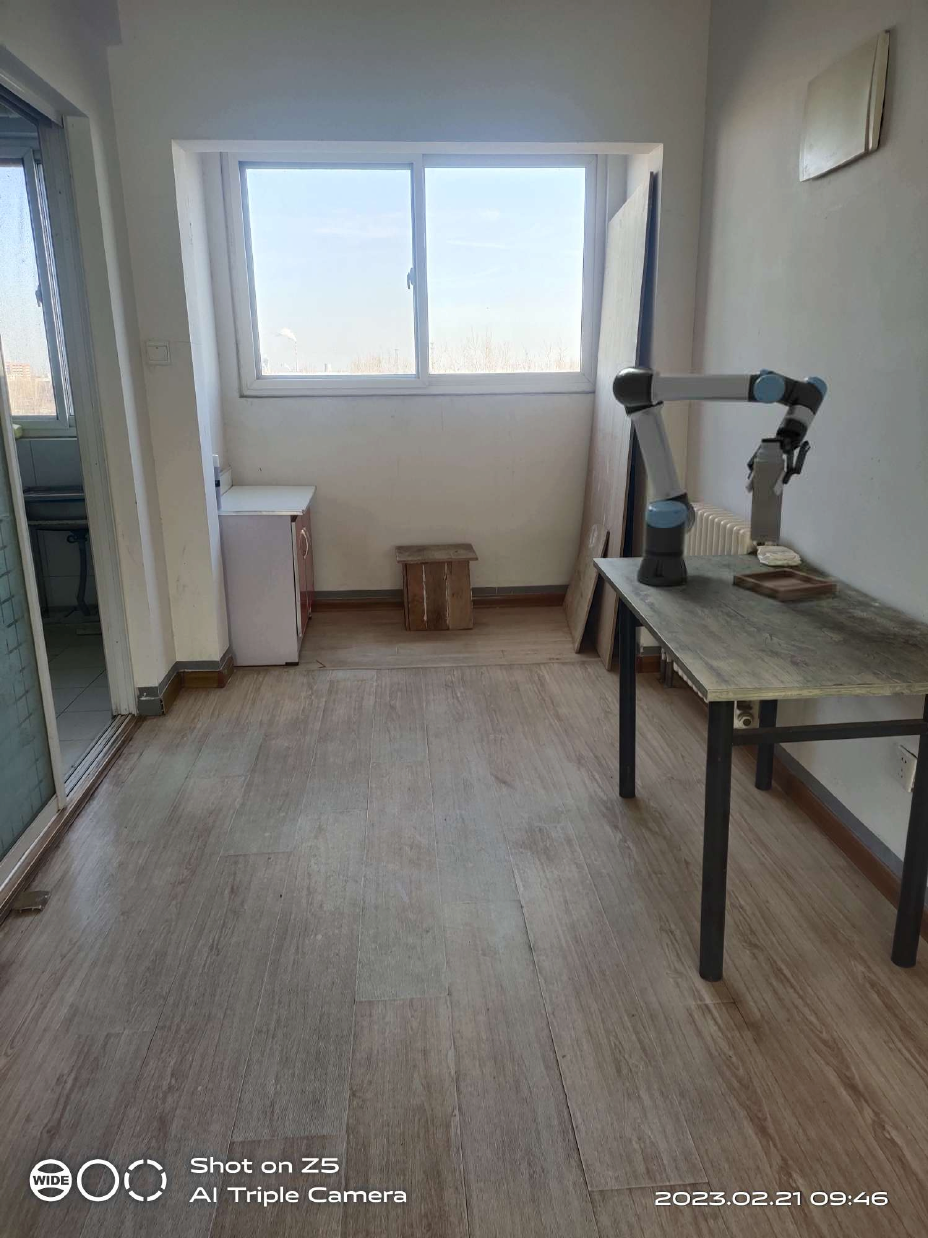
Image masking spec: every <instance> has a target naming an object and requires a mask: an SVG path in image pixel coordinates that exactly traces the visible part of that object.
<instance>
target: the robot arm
mask: <svg viewBox="0 0 928 1238" xmlns="http://www.w3.org/2000/svg"><path fill="white" fill-rule="evenodd" d="M611 389H612V393H613V396H614V398H615V400H616V401H617V402H618V403H619V404H621V405H622V406H624V410H625V414H626V417H628V418H629V419H630V420H632V421H633V426H634V429H635V432H636V437H637V440H638V443H639V447H640V452H641V456H642V458H643V462H644V465H645V470H646V473H647V477H648V481H649V485H650V488H651V492H652V496H651V497H650V500H649V503H650V504H649V505H648V506H647V508H646V512H645V527H644V528H645V530H644V531H645V532H644V549H643V556H642V559H641V562H640V565H639V567H638V569H637V572H636V580H637V581H638V582H639V581H640V583H642V584H645V585H649V586H650V585H651V586H656V585H657V586H658V587H674V585H677V586H682V585H685V584H687V583H688V579H689V573H688V569H687V566H686V561H685V558H684V551H685V538H686V537H685V536H686V535H688V533H689V532H690V531H691V530H692V529H693V527H694V526H695V522H696V511H695V507H694V506H693V504H692V503H691V502H690V499H689V495H688V491H687V489H684V488H682V487H681V484H680V481H679V477H678V474H677V470H676V465H675V460H674V457H673V454H672V451H671V446H670V441H669V439H668V435H667V432H666V427H665V423H664V419H663V416H662V409H663V408H664V406H665V403H664V402H691V403H692V402H705V403H757V404H758V403H759V404H760V403H761V404H765V405H768V404H769V405H770V404H774V403H776V404H779V405H782V406H784V407H788V409H787V410H786V412H785V414H784V415H783V418H782V421H781V423H780V424H779V426H778V428H777V430H776V433H775V435H774V437H773V438H779V439H781V441H780V442H779V443H780V449H781V450H782V451H783V455H786V457H785V458H786V459H785V464H786V467H785V469H784V470H783V472H782V473H781V475H780V477H779V479H778V481H777V483H776V485H775V487H774V491H775V494H776V495H778V496H779V495H780V493H781V491H782V489H783V490H784V487H785V485H788V484H789V482H790V480H791V478H792V477H793V476H794V475H797V476H798V475H800V474H801V473H802V470H803V466H804V463H805V460H806V456H807V453H808V452H809V451H810V449H811V445H810V443H809V440H807V439H806V440H805V437H806V435H807V433H808V431H809V429H810V427H811V425H812V423H813V421H814V419H815V416H816V415H817V413H818V411H819V409H820V407H821V406H822V403H823V401H824V399H825V396H826V395H827V391H828V385H827V383H826V382H825V380H823V379H822V378H820V377H818V376H806V377H804V378H803V379H802V381H800V380H797V379H794V378H791V377H788V376H786V375H783V374H781V373H778V372H776V371H774V370H768V369H765V368H761V369H760V370H759V371H758V373H756V374H751V373H750V374H748V373H747V374H746V373H745V374H743V373H742V374H741V373H740V374H739V373H733V374H731V373H726V374H725V373H723V374H722V373H720V374H719V373H661V372H660V371H659V370H657V369H653V368H652V367H650V366H647V365H636V366H627V367H625V368H623V369H621V370H620V371H619V372H617V374H616V376H615V377H614V379H613V381H612V388H611ZM761 444H762V442H761V441H760V444H759V446H758V448H757V449H756V450H755V452H754V453H753V455H752V457H750V459H749V461H748V462H747V463H746V465H747V468H748V470H749V471H750V472H749V473H748V476H747V482H746V484H745V489H746V492H747V493H749V494H751V493H752V490H753V472H754V459H756V458H757V451H758V450H760V449H761ZM798 449H799V450H798ZM796 450H798V452H797V456H796V459H795V462H794V457H795V451H796Z"/></svg>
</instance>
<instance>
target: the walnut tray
mask: <svg viewBox="0 0 928 1238" xmlns="http://www.w3.org/2000/svg"><path fill="white" fill-rule="evenodd" d="M732 577H733V578H732V585H733V586H735V587H738V588H740V589H743V590H746V591H749V592H752V593H755V594H758V595H760V596H764V597H766V598H769V599H772V600H774V601H778V602H781V603H782V602H787V601H792V600H801V599H808V598H814V597H815V598H816V597H821V596H822V595H823V596H828V595H827V594H830V595H836V594H835V593H837V585H838V583H836V582H833V581H830V580H826V579H823V578H820V577H818V576H815V575H814V576H813V575H811V574H807V573H803V572H801V571H797V570H794V569H790V568H787V567H786V568H778V569H771V570H761V571H754V572H748V573H746V572H745V573H740V574H739V573H737V574H733V576H732Z"/></svg>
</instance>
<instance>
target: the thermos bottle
mask: <svg viewBox="0 0 928 1238" xmlns="http://www.w3.org/2000/svg"><path fill="white" fill-rule="evenodd" d="M780 441H781V439H779V438H774V437H766V438H762V439H761V441H760V444H761V442H762V444H761V449H760V450H758V451H757V450H756V451H757V458H756V459H754V472H753V489H752V491H751V493H752V495H751V496H752V497H751V509H750V510H751V511H750V526H749V527H750V528H749V529H750V531H749V540H751V541H752V542H757V543H775V542H779V541H780V539H781V538H780V537H781V524H782V506H783V505H782V504H783V493H784V488H783V489H782V491H781V493H780V495H779V496H778V495H776V494H775V491H774V487H775V485H776V483H777V481H778V479H779V477H780V475H781V473H782V472H783V470H785V468H786V467H785V464H786V459H785V458H784V457H783V456H784V454H783V451H782V450H781V449H780V443H779V442H780Z"/></svg>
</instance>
